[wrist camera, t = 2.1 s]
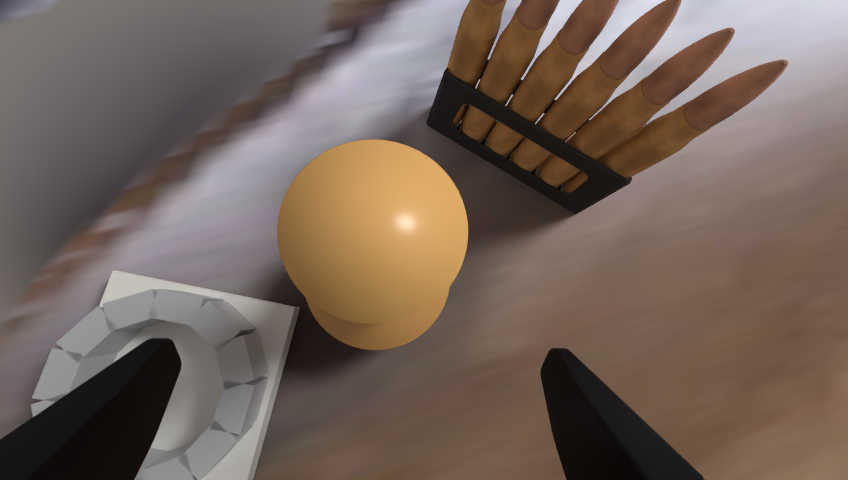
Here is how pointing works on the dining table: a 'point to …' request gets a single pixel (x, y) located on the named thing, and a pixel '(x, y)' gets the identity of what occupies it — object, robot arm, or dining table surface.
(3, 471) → the robot arm
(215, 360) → the housing
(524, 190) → the dining table surface
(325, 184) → the tan peg
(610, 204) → the dining table surface
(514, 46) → the ammunition clip
